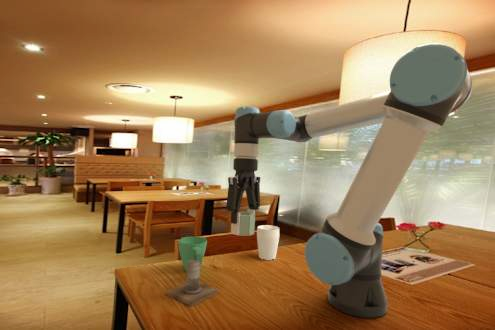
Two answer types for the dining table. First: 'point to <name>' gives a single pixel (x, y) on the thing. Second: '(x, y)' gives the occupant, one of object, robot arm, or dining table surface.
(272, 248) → the cup
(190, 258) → the mug
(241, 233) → the pale green hollow tube
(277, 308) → the dining table surface
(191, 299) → the shaft block
